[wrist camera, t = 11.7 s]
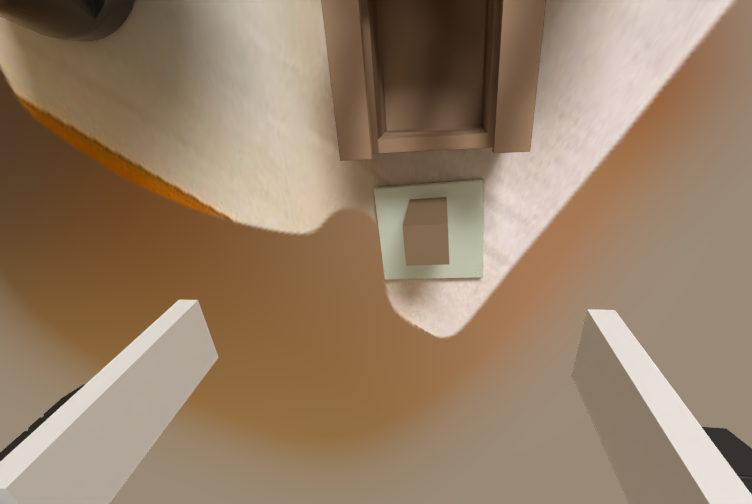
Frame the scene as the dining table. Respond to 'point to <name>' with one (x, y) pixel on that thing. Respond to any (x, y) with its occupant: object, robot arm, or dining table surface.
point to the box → (433, 74)
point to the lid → (431, 229)
